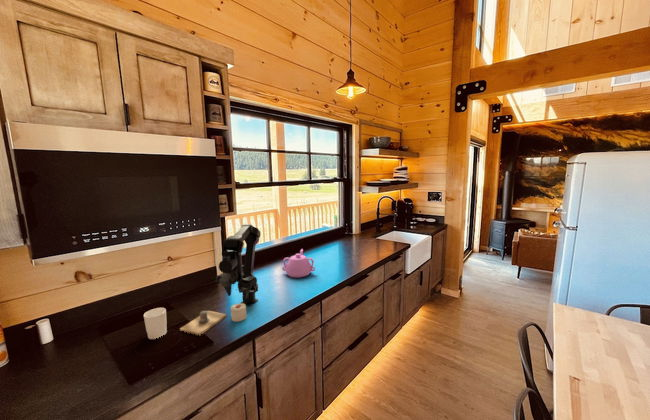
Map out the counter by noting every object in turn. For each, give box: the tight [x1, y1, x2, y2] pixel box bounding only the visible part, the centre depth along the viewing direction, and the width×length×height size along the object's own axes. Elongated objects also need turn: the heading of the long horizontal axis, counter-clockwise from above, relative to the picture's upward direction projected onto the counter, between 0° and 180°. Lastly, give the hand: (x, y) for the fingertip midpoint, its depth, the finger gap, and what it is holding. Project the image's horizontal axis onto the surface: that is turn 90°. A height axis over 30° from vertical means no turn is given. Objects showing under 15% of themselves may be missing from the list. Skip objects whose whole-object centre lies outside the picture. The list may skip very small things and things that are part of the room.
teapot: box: [281, 248, 316, 278], centre depth 176 cm, size 22×22×14 cm
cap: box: [230, 302, 247, 323], centre depth 123 cm, size 7×7×6 cm
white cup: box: [143, 307, 168, 340], centre depth 111 cm, size 8×8×10 cm
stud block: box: [179, 310, 227, 337], centre depth 119 cm, size 16×11×5 cm
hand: (237, 297), depth 122 cm, fingers open, 9 cm apart
